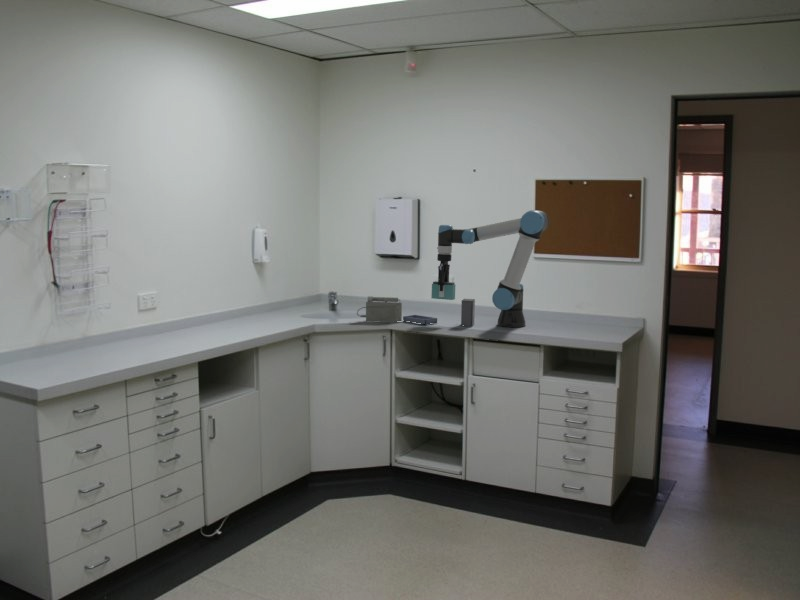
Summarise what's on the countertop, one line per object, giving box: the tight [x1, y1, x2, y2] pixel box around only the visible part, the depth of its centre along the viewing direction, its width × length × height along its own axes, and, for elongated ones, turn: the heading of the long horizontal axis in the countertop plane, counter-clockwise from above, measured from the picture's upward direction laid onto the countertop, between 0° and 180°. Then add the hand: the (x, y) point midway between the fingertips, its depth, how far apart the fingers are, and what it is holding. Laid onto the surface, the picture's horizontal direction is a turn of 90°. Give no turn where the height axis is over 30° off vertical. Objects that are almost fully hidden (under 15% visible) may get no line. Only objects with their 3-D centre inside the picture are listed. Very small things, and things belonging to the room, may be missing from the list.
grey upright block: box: [460, 298, 476, 327], centre depth 405 cm, size 6×8×14 cm
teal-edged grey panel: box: [431, 280, 456, 301], centre depth 407 cm, size 12×4×9 cm, turn 70°
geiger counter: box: [356, 295, 403, 323], centre depth 415 cm, size 14×6×25 cm
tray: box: [402, 314, 438, 326], centre depth 413 cm, size 17×10×3 cm, turn 46°
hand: (442, 296), depth 407 cm, fingers closed on teal-edged grey panel, 4 cm apart
